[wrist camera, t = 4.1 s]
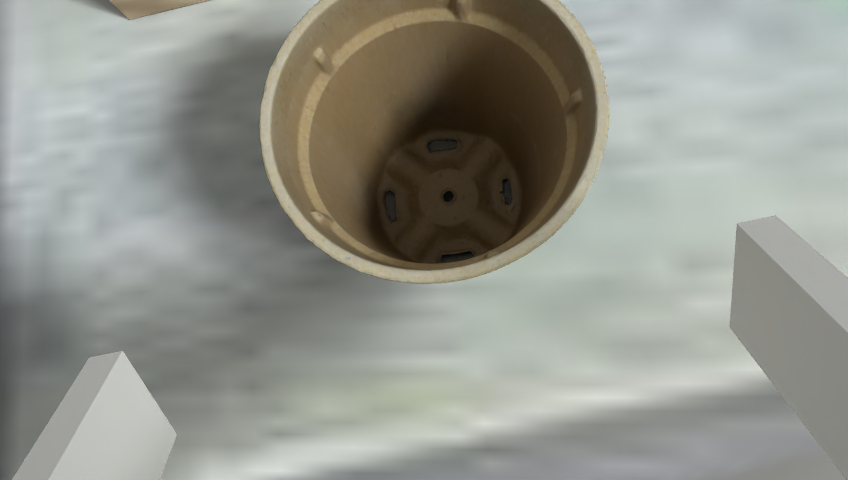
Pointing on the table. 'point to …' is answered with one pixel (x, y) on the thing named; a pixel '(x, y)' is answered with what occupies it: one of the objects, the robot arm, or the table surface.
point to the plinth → (149, 6)
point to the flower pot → (433, 130)
